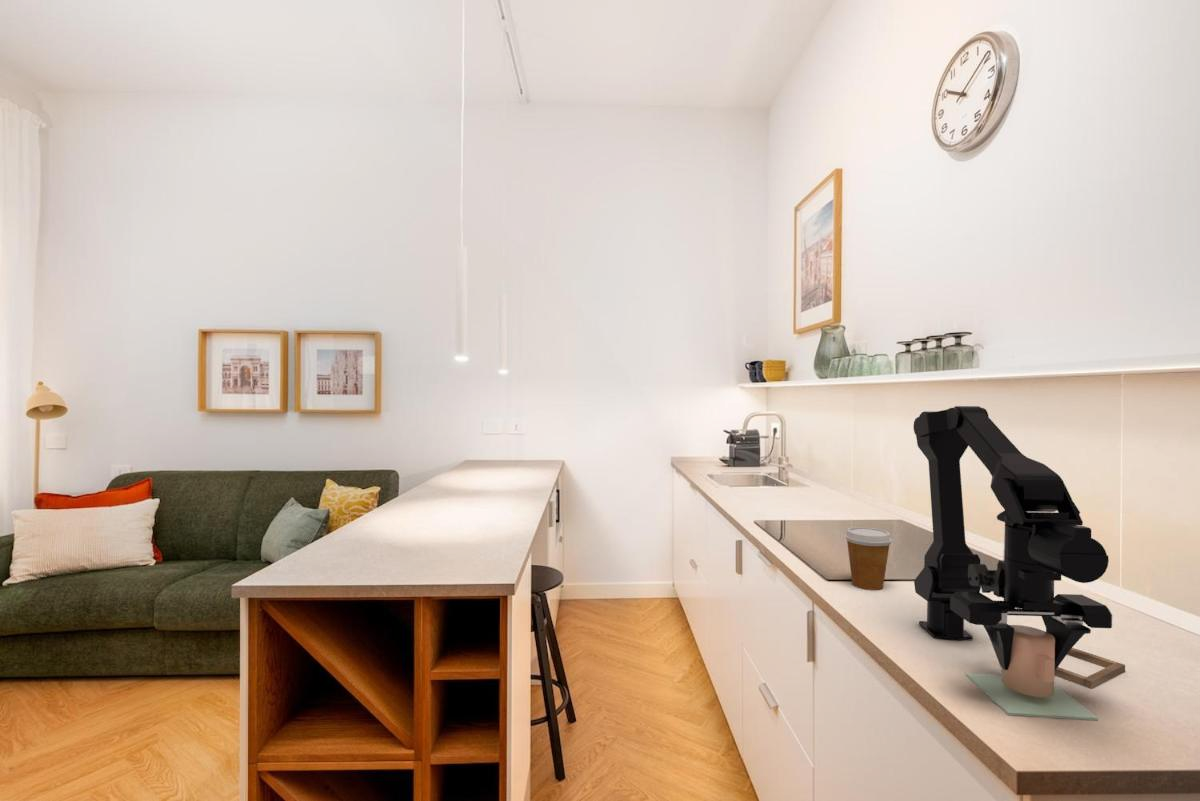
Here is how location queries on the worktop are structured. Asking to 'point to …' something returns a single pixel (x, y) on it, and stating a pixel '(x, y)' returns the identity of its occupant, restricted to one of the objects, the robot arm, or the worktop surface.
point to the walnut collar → (1096, 678)
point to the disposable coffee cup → (868, 556)
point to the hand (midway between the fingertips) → (1027, 669)
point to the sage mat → (1030, 700)
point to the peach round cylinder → (1031, 662)
